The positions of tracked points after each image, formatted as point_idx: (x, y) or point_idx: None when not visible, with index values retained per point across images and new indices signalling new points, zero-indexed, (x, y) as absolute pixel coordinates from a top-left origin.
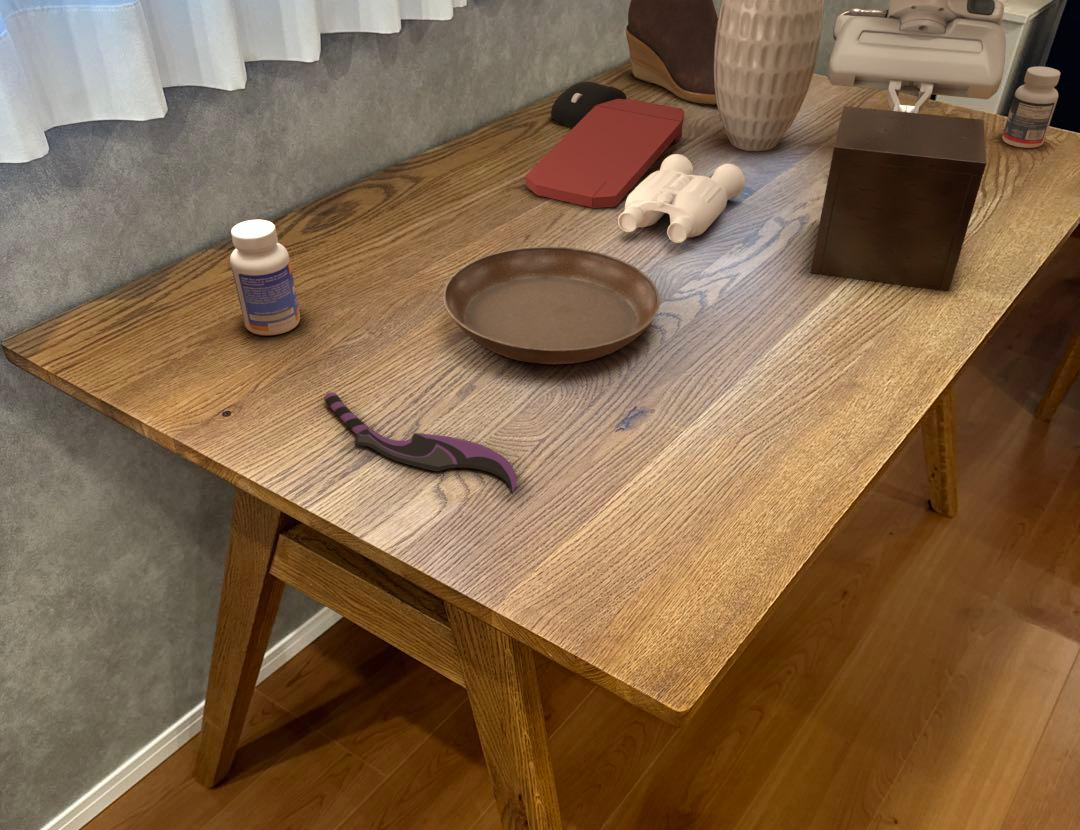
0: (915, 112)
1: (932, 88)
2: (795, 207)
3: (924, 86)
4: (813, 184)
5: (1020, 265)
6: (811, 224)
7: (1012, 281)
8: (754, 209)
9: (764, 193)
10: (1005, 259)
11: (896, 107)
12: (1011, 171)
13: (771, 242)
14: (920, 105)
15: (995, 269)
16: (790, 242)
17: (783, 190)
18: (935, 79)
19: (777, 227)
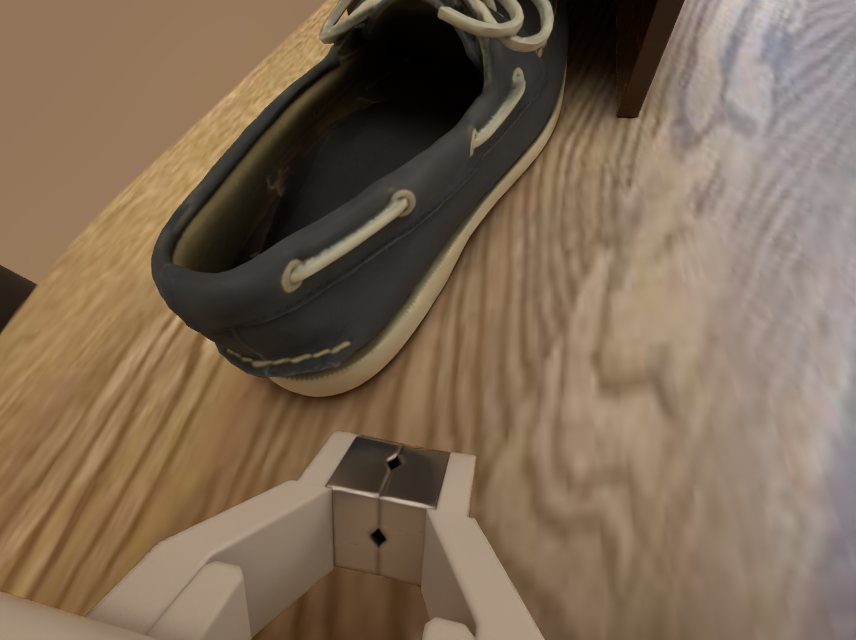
0: (335, 451)
1: (120, 581)
2: (720, 187)
3: (180, 612)
4: (702, 335)
5: (276, 66)
6: (660, 121)
7: (310, 27)
8: (827, 160)
9: (840, 251)
10: (292, 76)
11: (454, 489)
12: (20, 536)
13: (730, 47)
14: (288, 484)
15: (322, 49)
16: (690, 54)
17: (787, 279)
18: (25, 608)
19: (736, 97)
